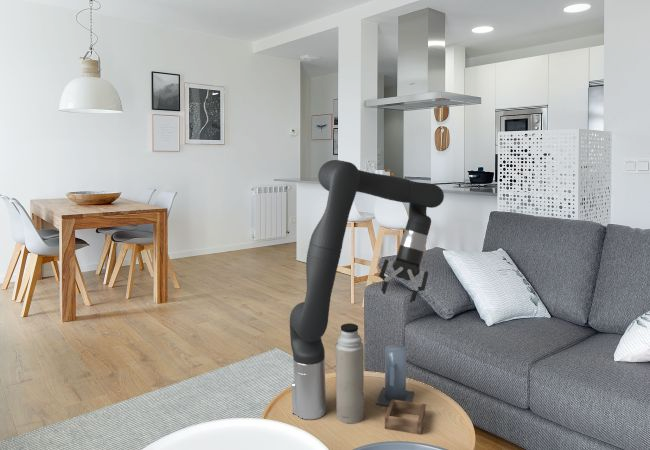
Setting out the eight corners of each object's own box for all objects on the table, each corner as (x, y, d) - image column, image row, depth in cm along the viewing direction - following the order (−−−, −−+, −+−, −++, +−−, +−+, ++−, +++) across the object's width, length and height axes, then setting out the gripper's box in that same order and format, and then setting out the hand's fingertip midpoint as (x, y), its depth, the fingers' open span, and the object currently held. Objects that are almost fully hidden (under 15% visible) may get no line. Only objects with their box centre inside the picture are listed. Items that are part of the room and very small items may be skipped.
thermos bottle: (331, 417, 152) (329, 327, 146) (347, 405, 158) (346, 318, 152) (353, 426, 147) (352, 333, 141) (369, 414, 153) (368, 324, 147)
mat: (376, 404, 158) (376, 403, 158) (382, 388, 167) (382, 387, 167) (409, 409, 155) (409, 407, 155) (414, 393, 164) (414, 391, 164)
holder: (384, 428, 146) (384, 417, 145) (391, 409, 155) (391, 399, 154) (420, 434, 142) (420, 422, 142) (425, 415, 152) (425, 404, 151)
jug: (381, 405, 156) (381, 356, 153) (387, 390, 165) (387, 343, 162) (402, 408, 154) (402, 358, 151) (407, 393, 163) (407, 345, 160)
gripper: (388, 240, 157) (373, 291, 156) (435, 253, 154) (419, 306, 153) (390, 241, 164) (376, 290, 164) (434, 253, 161) (420, 304, 161)
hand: (397, 298), depth 159 cm, fingers open, 8 cm apart
